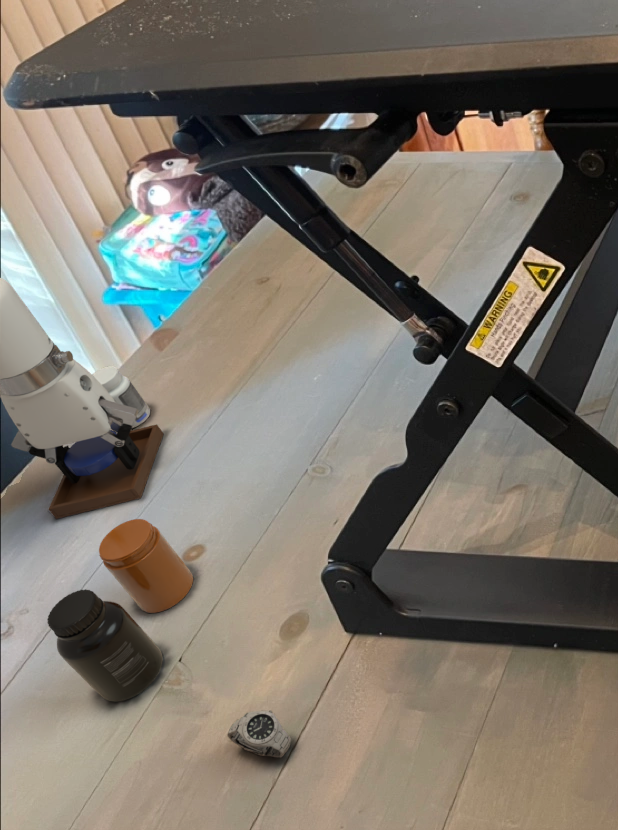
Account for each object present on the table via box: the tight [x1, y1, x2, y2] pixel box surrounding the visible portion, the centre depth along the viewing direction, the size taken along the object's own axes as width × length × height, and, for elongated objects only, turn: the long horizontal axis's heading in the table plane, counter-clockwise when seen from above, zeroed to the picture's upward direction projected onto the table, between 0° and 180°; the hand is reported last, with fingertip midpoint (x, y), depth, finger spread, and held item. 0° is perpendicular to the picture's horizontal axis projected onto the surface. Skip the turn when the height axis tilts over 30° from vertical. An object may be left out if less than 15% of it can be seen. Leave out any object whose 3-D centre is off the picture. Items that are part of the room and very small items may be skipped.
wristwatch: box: [226, 710, 292, 759], centre depth 103 cm, size 4×6×5 cm, turn 74°
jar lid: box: [64, 429, 118, 476], centre depth 138 cm, size 7×7×2 cm
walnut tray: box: [47, 424, 164, 520], centre depth 140 cm, size 11×12×2 cm
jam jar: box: [98, 518, 194, 614], centre depth 120 cm, size 6×6×9 cm
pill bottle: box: [91, 365, 151, 429], centre depth 147 cm, size 5×5×8 cm
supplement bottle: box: [47, 588, 164, 702], centre depth 110 cm, size 7×7×12 cm
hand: (106, 467), depth 140 cm, fingers closed on jar lid, 6 cm apart
